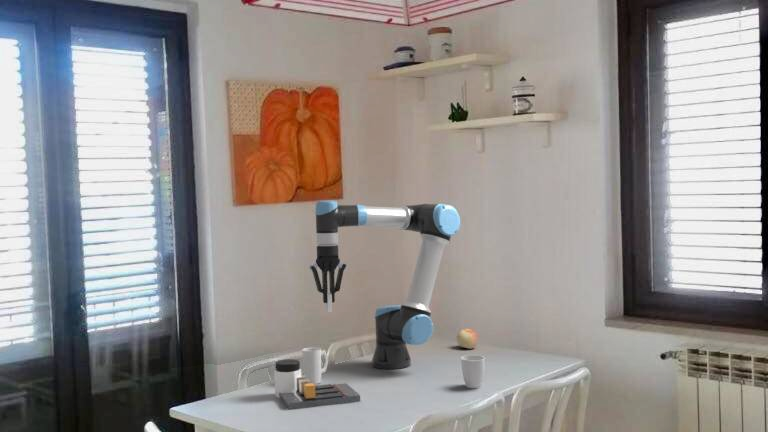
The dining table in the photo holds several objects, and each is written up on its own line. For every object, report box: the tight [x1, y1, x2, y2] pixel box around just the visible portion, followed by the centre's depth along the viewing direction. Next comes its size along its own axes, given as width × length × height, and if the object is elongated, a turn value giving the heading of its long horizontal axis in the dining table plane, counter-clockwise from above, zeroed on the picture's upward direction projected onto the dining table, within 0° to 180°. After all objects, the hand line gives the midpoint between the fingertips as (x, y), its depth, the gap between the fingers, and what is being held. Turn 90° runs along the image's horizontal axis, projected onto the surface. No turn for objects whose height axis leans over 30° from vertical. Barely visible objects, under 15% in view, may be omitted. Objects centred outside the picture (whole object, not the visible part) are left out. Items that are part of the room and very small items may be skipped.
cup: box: [460, 354, 486, 389], centre depth 282 cm, size 8×8×10 cm
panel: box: [278, 374, 361, 411], centre depth 271 cm, size 24×17×7 cm
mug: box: [301, 346, 329, 385], centre depth 293 cm, size 10×7×12 cm, turn 127°
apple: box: [456, 328, 479, 350], centre depth 344 cm, size 9×9×8 cm
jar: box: [274, 358, 302, 399], centre depth 275 cm, size 9×8×12 cm
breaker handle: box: [304, 383, 316, 399], centre depth 263 cm, size 3×3×4 cm
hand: (329, 311), depth 285 cm, fingers closed
